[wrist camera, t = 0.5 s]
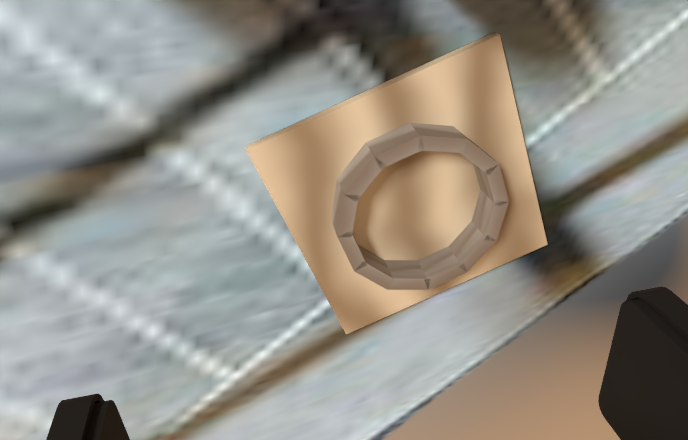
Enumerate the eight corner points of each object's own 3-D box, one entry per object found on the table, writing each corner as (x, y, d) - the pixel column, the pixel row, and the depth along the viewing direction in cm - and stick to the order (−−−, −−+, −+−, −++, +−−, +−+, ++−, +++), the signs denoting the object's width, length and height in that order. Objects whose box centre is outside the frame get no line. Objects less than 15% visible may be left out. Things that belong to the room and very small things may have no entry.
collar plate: (494, 32, 36) (518, 42, 33) (542, 239, 45) (564, 261, 42) (245, 146, 36) (248, 165, 33) (344, 327, 45) (352, 355, 43)
